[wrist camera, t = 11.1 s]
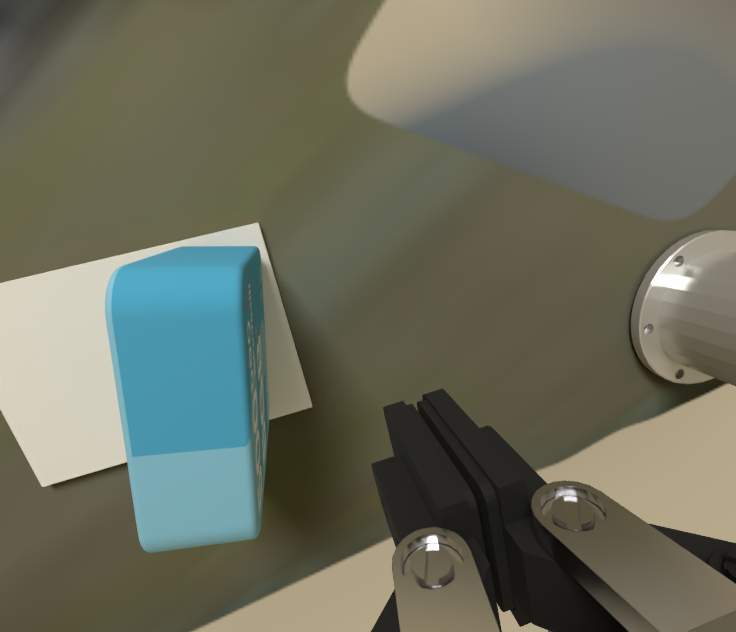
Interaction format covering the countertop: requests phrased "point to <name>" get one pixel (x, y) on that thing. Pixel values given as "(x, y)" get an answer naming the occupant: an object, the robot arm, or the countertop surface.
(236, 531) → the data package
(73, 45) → the countertop surface
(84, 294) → the mat
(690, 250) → the robot arm
